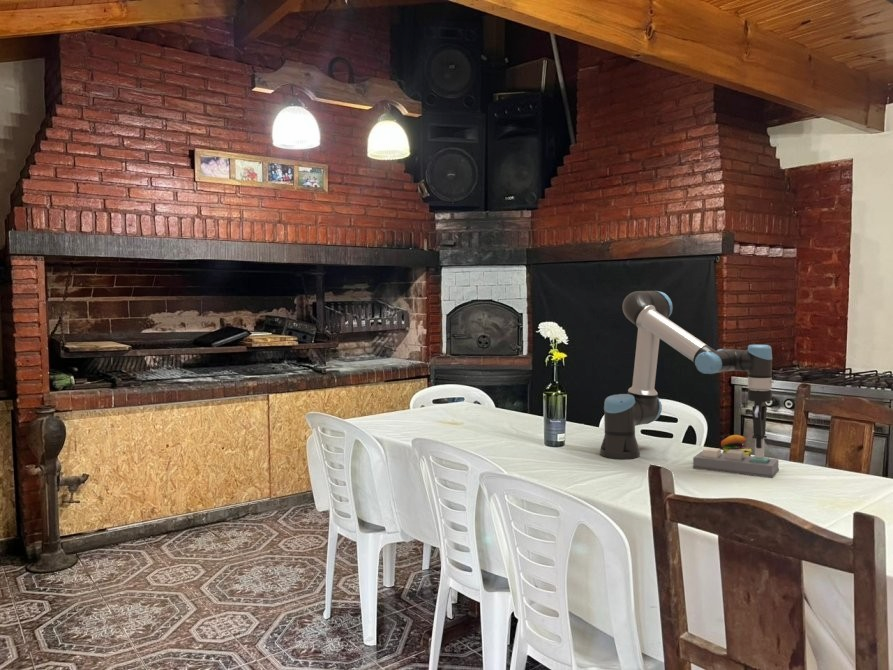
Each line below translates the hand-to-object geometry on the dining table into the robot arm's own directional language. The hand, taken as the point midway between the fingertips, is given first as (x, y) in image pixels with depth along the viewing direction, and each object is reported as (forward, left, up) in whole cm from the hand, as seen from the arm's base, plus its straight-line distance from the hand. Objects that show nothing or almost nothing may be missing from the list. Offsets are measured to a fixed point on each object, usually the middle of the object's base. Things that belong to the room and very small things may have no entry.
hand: (759, 456), depth 230 cm
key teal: (0, 0, -4) cm, 4 cm away
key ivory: (-16, 0, -3) cm, 16 cm away
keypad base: (-8, 0, -5) cm, 10 cm away
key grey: (-8, 0, -3) cm, 8 cm away
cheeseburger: (-12, +18, -6) cm, 22 cm away
